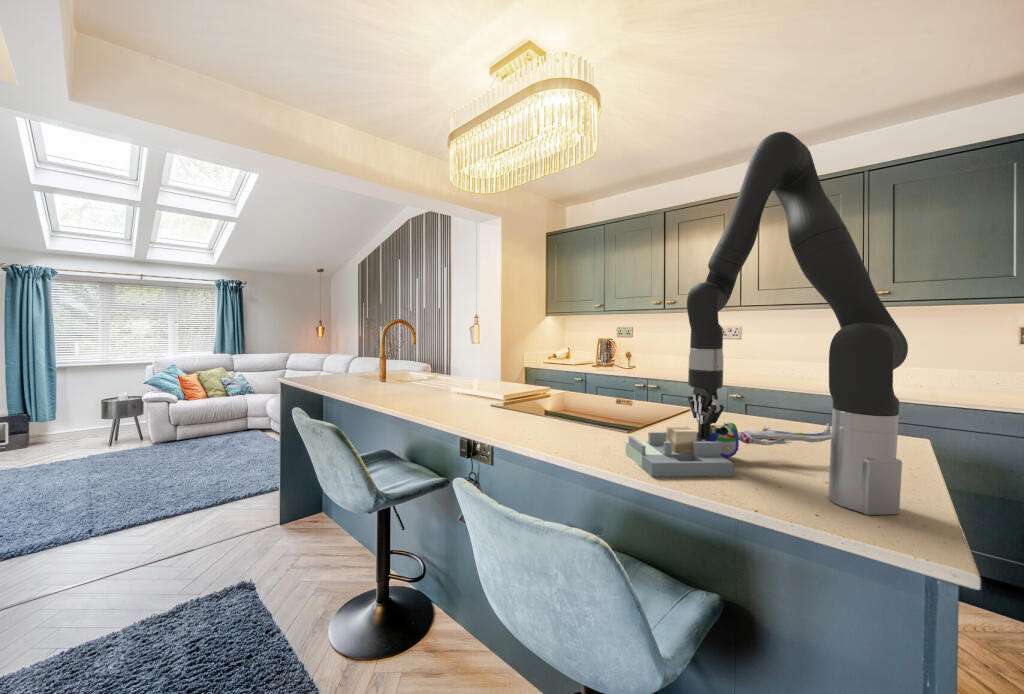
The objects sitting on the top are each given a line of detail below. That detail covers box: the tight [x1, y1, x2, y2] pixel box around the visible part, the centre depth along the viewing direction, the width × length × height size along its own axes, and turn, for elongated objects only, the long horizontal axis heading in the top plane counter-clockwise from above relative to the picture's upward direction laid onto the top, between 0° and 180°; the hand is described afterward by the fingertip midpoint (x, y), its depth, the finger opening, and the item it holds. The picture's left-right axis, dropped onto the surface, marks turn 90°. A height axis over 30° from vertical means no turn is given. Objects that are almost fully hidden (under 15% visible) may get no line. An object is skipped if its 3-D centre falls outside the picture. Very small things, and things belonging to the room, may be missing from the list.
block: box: [665, 425, 698, 453], centre depth 100 cm, size 5×5×5 cm
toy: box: [701, 422, 832, 460], centre depth 102 cm, size 10×8×30 cm
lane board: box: [625, 431, 734, 478], centre depth 99 cm, size 17×18×6 cm
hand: (703, 438), depth 101 cm, fingers closed
